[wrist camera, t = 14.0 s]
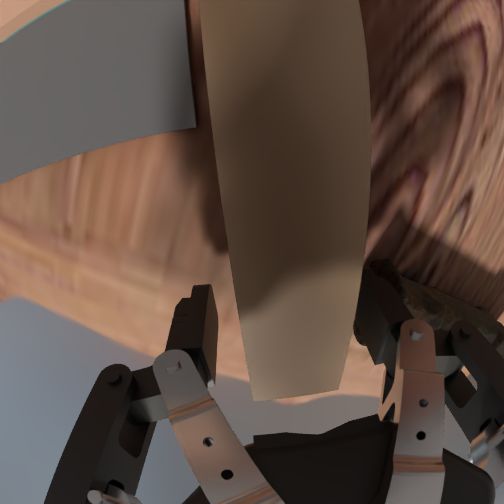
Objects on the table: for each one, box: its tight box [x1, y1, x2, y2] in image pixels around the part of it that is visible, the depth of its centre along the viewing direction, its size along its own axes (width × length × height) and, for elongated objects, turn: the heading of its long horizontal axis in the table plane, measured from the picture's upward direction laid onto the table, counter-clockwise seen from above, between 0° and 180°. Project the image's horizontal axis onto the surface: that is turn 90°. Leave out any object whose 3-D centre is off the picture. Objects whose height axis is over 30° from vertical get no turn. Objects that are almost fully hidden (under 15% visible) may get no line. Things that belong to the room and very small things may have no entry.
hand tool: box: [353, 259, 504, 358], centre depth 15 cm, size 19×4×5 cm, turn 67°
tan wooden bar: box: [199, 0, 371, 401], centre depth 9 cm, size 4×18×5 cm, turn 5°
